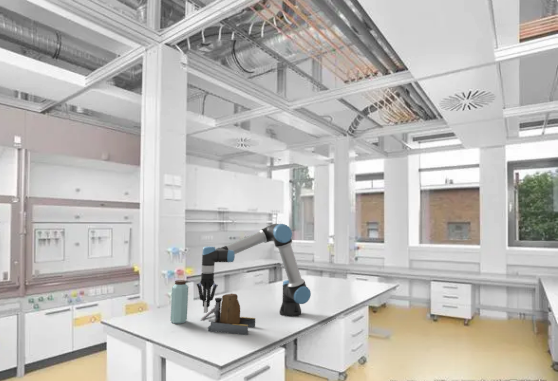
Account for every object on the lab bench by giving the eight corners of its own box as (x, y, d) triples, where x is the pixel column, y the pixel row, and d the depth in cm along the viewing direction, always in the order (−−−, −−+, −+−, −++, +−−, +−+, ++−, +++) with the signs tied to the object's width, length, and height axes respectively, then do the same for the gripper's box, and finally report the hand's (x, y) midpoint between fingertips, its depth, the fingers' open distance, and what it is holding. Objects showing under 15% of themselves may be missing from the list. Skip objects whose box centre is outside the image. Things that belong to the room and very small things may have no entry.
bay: (255, 326, 220) (255, 318, 221) (247, 335, 204) (247, 325, 205) (218, 323, 225) (218, 314, 226) (207, 331, 209) (208, 321, 210)
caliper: (215, 313, 250) (216, 304, 250) (217, 313, 250) (217, 304, 250) (200, 321, 231) (200, 310, 231) (201, 321, 230) (202, 310, 231)
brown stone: (226, 332, 209) (227, 296, 210) (218, 328, 214) (220, 294, 216) (241, 328, 216) (242, 294, 218) (233, 325, 222) (235, 292, 223)
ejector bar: (225, 323, 225) (226, 295, 226) (214, 331, 208) (216, 301, 209) (219, 322, 226) (220, 295, 227) (208, 331, 209) (209, 301, 210)
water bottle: (190, 320, 230) (192, 280, 232) (180, 324, 220) (182, 282, 222) (176, 318, 233) (178, 279, 235) (166, 322, 223) (169, 281, 225)
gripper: (220, 272, 223) (218, 311, 221) (200, 270, 226) (198, 309, 224) (215, 273, 216) (213, 314, 214) (195, 272, 219) (192, 312, 217)
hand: (205, 312), depth 219 cm, fingers closed
